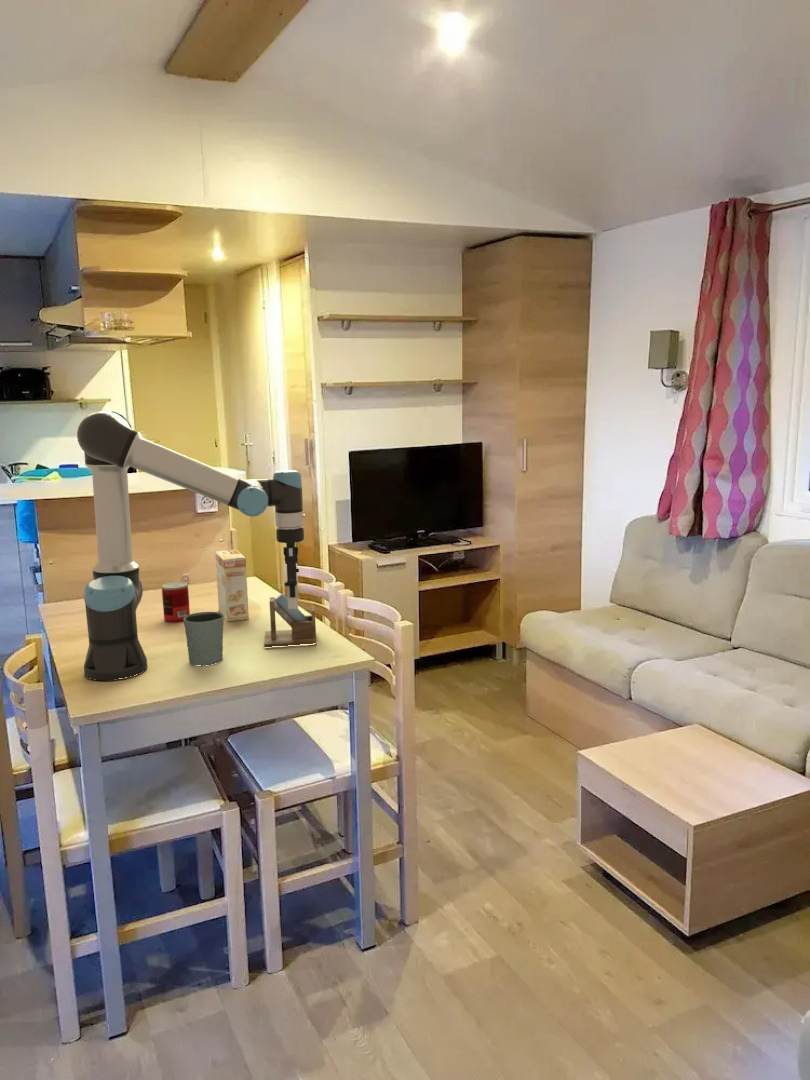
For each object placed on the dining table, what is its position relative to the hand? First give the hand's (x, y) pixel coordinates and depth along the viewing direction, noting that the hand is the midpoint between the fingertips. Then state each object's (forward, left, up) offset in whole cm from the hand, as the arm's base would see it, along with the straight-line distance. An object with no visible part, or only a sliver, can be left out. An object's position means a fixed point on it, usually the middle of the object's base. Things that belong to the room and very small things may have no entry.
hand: (293, 601), depth 226 cm
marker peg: (0, -4, -8) cm, 8 cm away
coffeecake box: (+30, +19, -11) cm, 37 cm away
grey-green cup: (-13, +23, -11) cm, 29 cm away
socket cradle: (0, +1, -11) cm, 11 cm away
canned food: (+28, +36, -11) cm, 47 cm away
